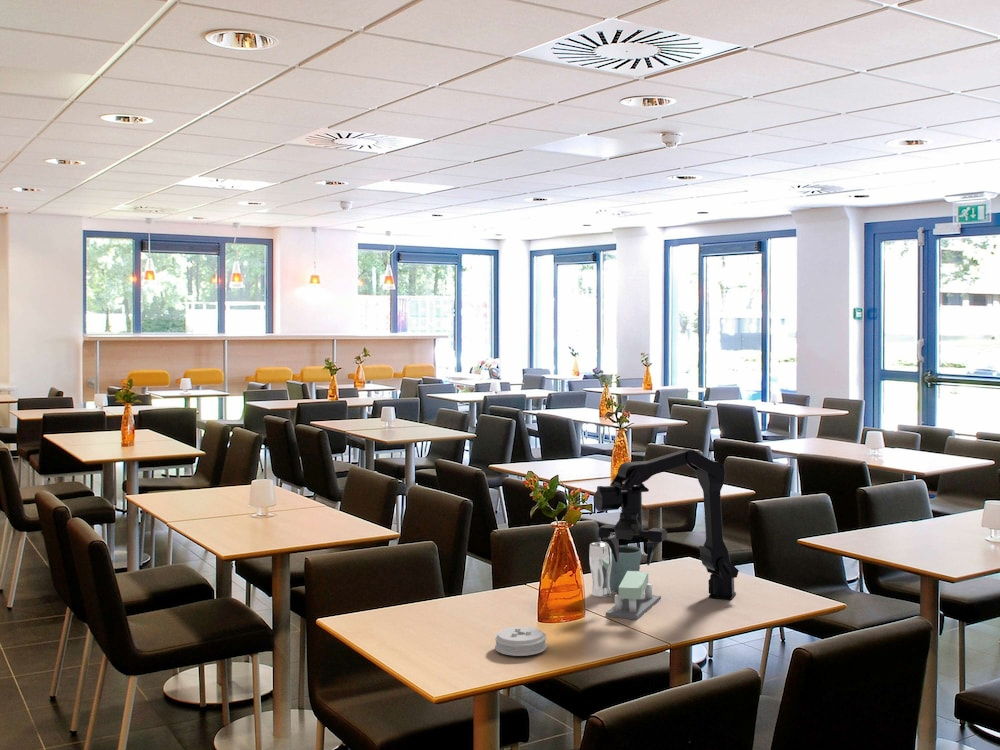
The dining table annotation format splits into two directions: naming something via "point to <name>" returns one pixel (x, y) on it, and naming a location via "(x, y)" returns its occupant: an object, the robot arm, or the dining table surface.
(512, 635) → the lid
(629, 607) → the peg stand
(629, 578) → the plank
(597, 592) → the beer glass
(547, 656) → the dining table surface
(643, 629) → the dining table surface
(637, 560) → the teal cylinder
